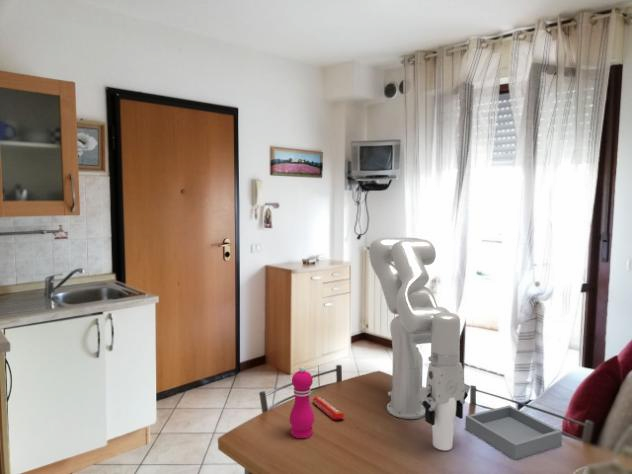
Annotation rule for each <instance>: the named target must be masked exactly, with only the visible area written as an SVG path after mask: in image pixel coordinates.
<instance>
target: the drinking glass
mask: <svg viewBox="0 0 632 474" xmlns="http://www.w3.org/2000/svg"><path fill="white" fill-rule="evenodd" d="M431 403H432V401H431V402H430V404H431ZM456 405H457V401H455V398H450V399H449V402H448V403H444V404H436V406H435V407H434V409H433V410H434V411H435V424H434V425H433V426H432V425H431V431H432V445H433V447H434V448H436V449H437V450H439V451H450V450H452V448H453V446H454V445H453V444H454V432H455V423H456V417H457V416H456Z"/></svg>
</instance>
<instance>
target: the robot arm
mask: <svg viewBox="0 0 632 474" xmlns="http://www.w3.org/2000/svg"><path fill="white" fill-rule="evenodd" d="M368 255H369V256H368V257H369V261H370V265H371V268H372V270H373V271H374V273H375V275H376V277H377V278H378V280H379V283H380V285H381V289H382V292H383V296H384V299H385V303H386V306H387V308H388V310H389V312H390V313H392V314H393V315H397V316H394V317H393V318H392V319H391V321H390V326H389V328H390V336H391V337H390V338H391V345H392V378H391V379H392V380H391V382H392V385H391V388H392V389H391V391H388V392H387V395H388V397H390V401H389V402H388V403H387V405H386V410H387V412H388V413H389V414H390V415H392V416H394V417H397V418H399V419H405V420H416V419H417V420H418V419H421V418H423V417H424V421H425V422H426V423H428V424H429V425H431V427H432V426H433V425H434V424H435V411H434V410H433V409H434V407H435V406H436V404H444V403H448V402H449V399H450V398H455V401H457V405H456V417H457V418H458V419H461V420H462V419H463V417H464V412H463V411H464V404H465V403H466V399H467V397H468V395H469V392H470V389H471V386H470V385H469V384H467V383H466V382H465V375H464V368H463V365H462V364H463V363H462V362H460V356H461V355H460V352H461V351H460V349H461V348H460V347H461V346H460V345H461V343H460V341H461V318H460V316H459V315H458V314H455V313H454V312H450V310H448V309H447V308H445V307H443V306H438V304H437V301H436V298H435V296H434V294H433V292H432V291H431V289H430V288H429V287H428V286H426V285H427V284H428V282H429V279H430V276H429V274H428V271H427V269H426V267H425V266H429V265H432V264H433V263H434V262H435V260H436V257H437V256H436V255H437V254H436V249H435V246H434V245H433V244H432V242H431V241H430V240H428V239H422V238H417V237H381V238H377V239H375V240H373V241H372V242H371V243H370V246H369V248H368ZM392 262H393V263H394V264H393V263H392ZM424 344H430V355H429V357H428V358H427V359H428V361H429V365H428V368H427V374H426V383H425V384H426V385H425V388H424V389H423V367H424V366H423V365H424V364H423V362H424V361H423V360H424V359H423V355H422V354H421V352H420V351H419V350H418V349H417V346H418V345H424ZM431 401H432V403H431Z"/></svg>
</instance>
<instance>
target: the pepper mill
mask: <svg viewBox="0 0 632 474" xmlns="http://www.w3.org/2000/svg"><path fill="white" fill-rule="evenodd" d="M291 385H292V386H293V395H294V403H293V406H292V409H291V411H290V414H289V423H290V425H291V428H290V434H292V435H293V436H294V437H296V438H295V439H297V438H306V439H309V438H311V437H312V436H313V425H314V423H315V415H314V410H313V408H312V405H311V402H310V394H311V393H312V392H311V390H312V389H311V387H312V385H313V376H312V374H311V373H310V372H308V371H306V367H305V366H300V367H299V370H298V371H296V372H294V374H293V375H292V378H291ZM292 435H291V436H292ZM311 435H312V436H311ZM293 436H292V437H293ZM294 437H293V438H294ZM308 437H309V438H308Z"/></svg>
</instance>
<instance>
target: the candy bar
mask: <svg viewBox="0 0 632 474" xmlns="http://www.w3.org/2000/svg"><path fill="white" fill-rule="evenodd" d="M312 401H313V404H314V405H315V406H316V405H317V407H318V408H319V409H320V410H321V411H323V412H324V413H325V414H326V415H327V416H328V417H330V418H331V419H332V420H336V421H341V420H340V419H342V420H345V417H344V413H343V412H342V411H341V410H340V409H339V408H337V407H336V406H335V405H334V404H332V403H331V402H330V401H328V400H327V399H326V398H324V397H323V396H314V397H313V399H312Z"/></svg>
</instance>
